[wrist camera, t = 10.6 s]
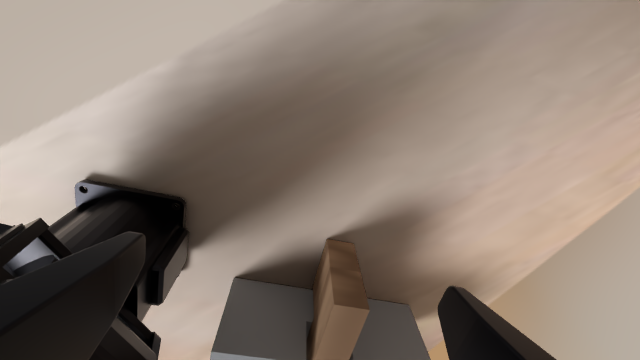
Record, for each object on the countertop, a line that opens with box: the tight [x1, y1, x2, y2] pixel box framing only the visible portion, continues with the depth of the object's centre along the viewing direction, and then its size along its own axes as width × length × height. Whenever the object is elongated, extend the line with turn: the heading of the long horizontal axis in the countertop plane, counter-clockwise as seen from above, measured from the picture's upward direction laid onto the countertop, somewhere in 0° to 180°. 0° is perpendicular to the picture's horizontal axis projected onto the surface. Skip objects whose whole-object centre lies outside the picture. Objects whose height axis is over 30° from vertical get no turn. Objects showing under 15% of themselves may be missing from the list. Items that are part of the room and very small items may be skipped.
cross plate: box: [306, 239, 370, 360], centre depth 21 cm, size 2×12×6 cm, turn 166°
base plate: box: [210, 278, 431, 360], centre depth 21 cm, size 14×2×6 cm, turn 76°
